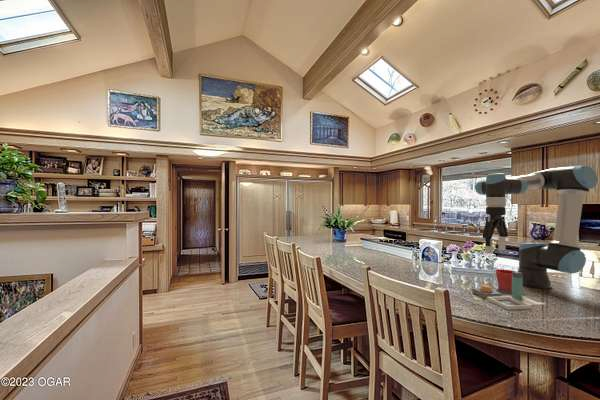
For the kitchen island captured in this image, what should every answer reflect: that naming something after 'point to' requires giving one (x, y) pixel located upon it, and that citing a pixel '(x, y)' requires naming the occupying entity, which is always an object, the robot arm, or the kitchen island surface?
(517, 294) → the tall green block
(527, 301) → the clipboard
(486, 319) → the kitchen island surface
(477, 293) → the button box
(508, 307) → the tray
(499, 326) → the kitchen island surface
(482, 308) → the kitchen island surface
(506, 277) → the flower pot
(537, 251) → the robot arm
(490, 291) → the button
